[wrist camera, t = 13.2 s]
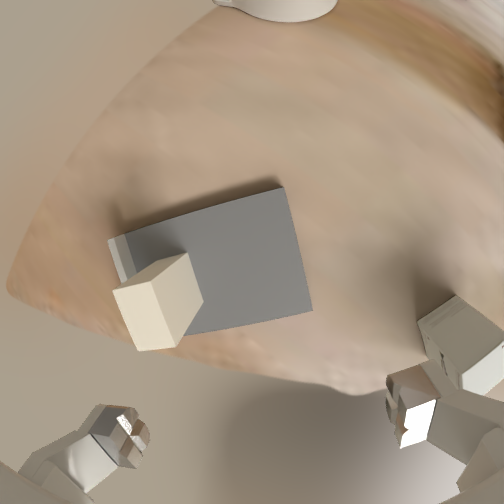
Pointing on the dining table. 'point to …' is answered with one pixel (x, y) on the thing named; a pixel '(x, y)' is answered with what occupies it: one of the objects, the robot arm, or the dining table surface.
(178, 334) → the carton
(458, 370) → the supplement box
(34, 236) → the dining table surface
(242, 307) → the grey panel white edge
